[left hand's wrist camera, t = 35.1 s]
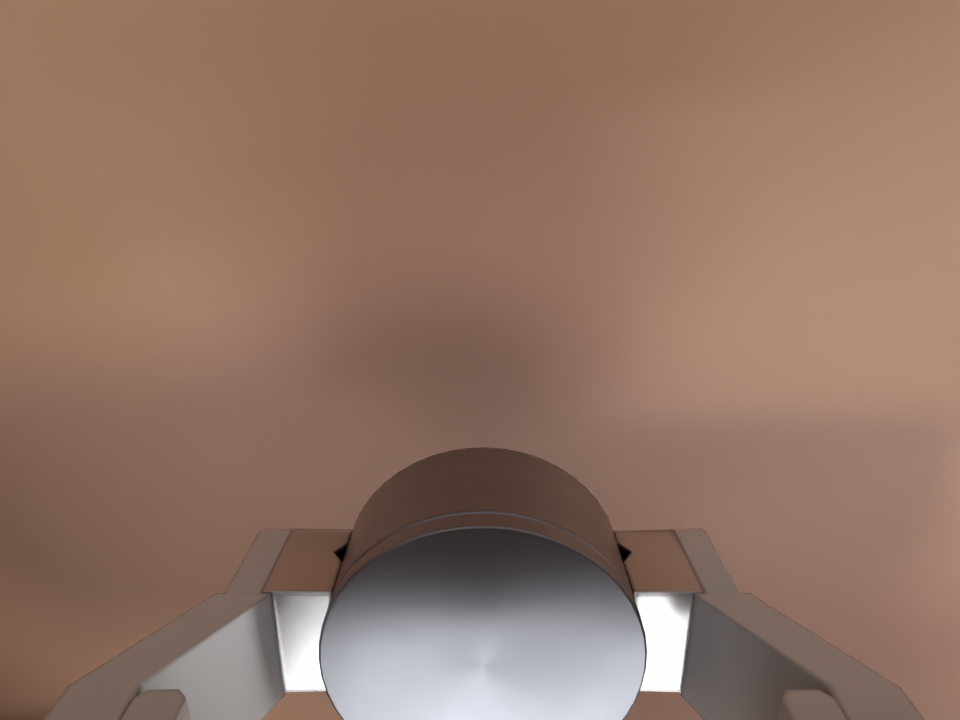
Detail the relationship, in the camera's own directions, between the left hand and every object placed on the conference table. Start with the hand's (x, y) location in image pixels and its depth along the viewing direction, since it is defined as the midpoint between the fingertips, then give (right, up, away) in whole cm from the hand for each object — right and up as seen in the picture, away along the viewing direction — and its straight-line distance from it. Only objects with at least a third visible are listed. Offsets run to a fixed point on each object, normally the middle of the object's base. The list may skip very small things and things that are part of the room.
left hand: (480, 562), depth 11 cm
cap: (0, -1, -2) cm, 2 cm away
